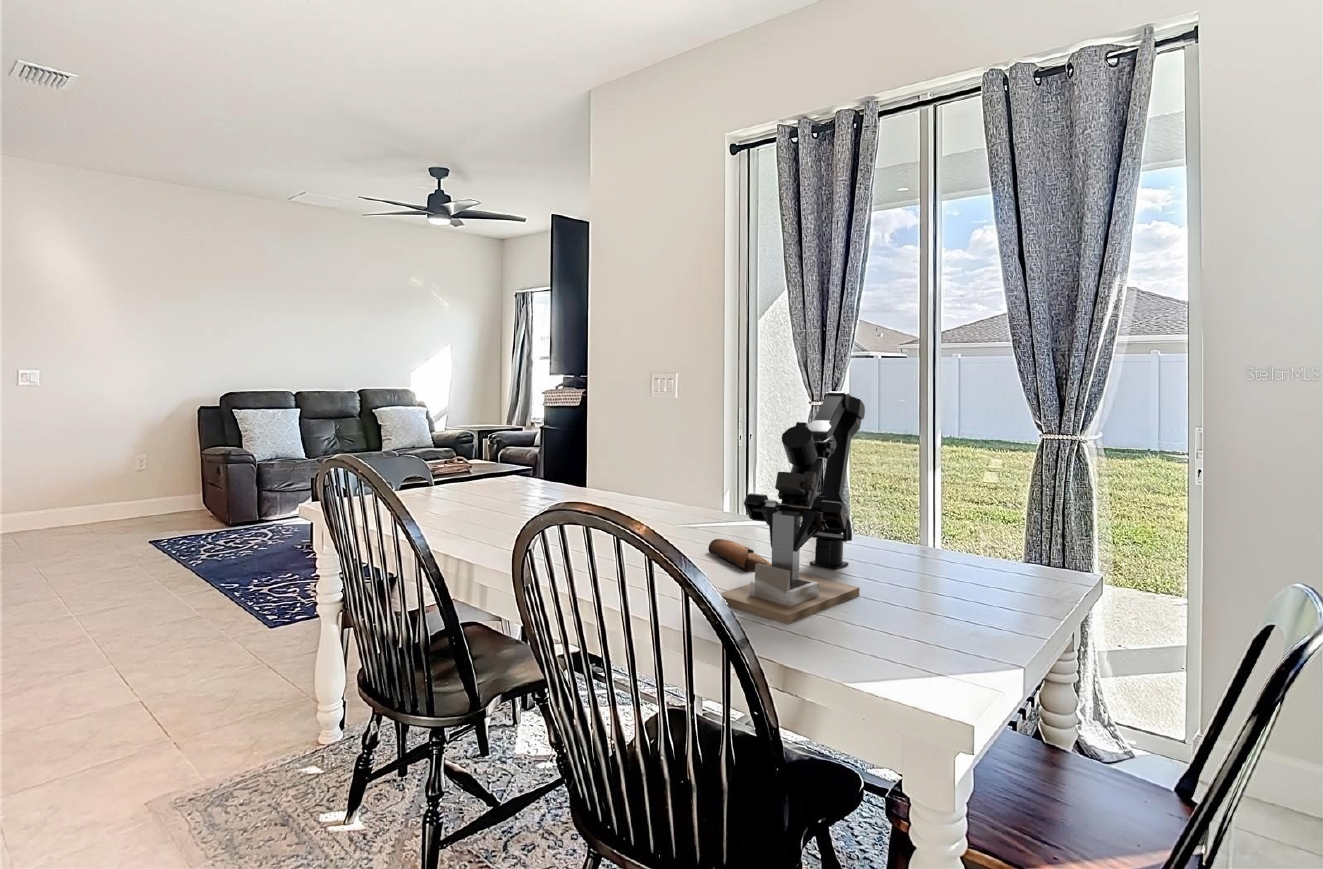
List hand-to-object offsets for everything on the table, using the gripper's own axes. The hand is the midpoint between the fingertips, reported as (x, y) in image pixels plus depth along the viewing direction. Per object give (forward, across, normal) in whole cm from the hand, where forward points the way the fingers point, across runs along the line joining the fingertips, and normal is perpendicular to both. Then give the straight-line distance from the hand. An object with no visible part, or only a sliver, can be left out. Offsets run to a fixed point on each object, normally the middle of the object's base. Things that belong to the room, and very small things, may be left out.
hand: (783, 548), depth 131 cm
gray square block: (+4, 0, +6) cm, 7 cm away
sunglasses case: (-10, -19, +27) cm, 34 cm away
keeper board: (+4, 0, +11) cm, 11 cm away
